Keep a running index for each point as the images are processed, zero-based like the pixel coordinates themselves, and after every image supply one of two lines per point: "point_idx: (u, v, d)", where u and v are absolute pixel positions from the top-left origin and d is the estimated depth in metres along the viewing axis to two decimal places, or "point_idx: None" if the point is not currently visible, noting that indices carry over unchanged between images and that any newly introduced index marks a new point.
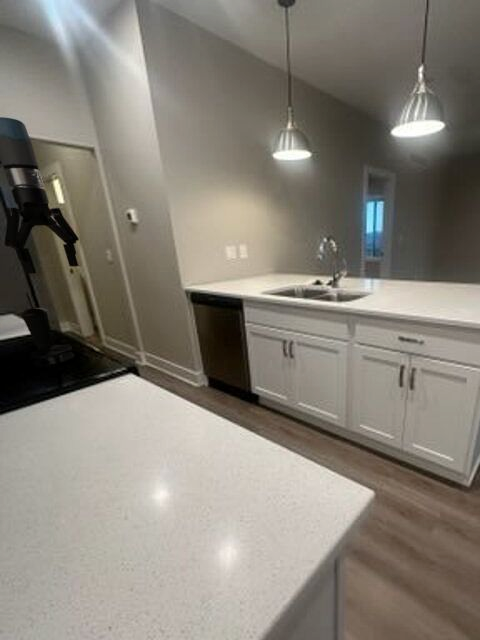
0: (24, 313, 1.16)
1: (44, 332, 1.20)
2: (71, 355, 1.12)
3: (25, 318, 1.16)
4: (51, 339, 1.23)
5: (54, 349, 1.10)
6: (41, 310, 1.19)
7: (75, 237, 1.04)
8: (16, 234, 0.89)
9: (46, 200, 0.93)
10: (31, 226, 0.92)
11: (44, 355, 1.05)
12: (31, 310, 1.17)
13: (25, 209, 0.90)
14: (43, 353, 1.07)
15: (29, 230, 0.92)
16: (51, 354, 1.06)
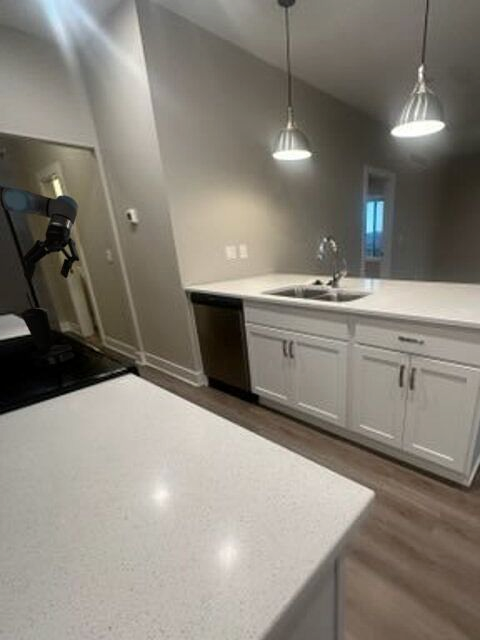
0: (24, 313, 1.16)
1: (44, 332, 1.20)
2: (71, 355, 1.12)
3: (25, 318, 1.16)
4: (51, 339, 1.23)
5: (54, 349, 1.10)
6: (41, 310, 1.19)
7: None
8: None
9: None
10: None
11: (44, 355, 1.05)
12: (31, 310, 1.17)
13: None
14: (43, 353, 1.07)
15: None
16: (51, 354, 1.06)
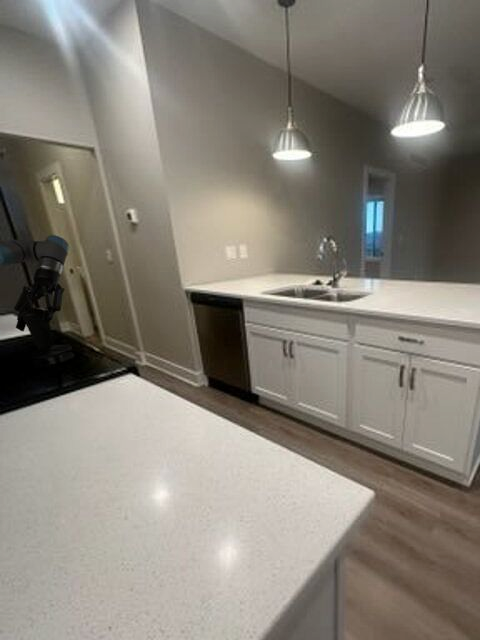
0: (24, 313, 1.16)
1: (44, 332, 1.20)
2: (71, 355, 1.12)
3: (25, 318, 1.16)
4: (51, 339, 1.23)
5: (54, 349, 1.10)
6: (41, 310, 1.19)
7: None
8: None
9: None
10: None
11: (44, 355, 1.05)
12: (31, 310, 1.17)
13: None
14: (43, 353, 1.07)
15: None
16: (51, 354, 1.06)
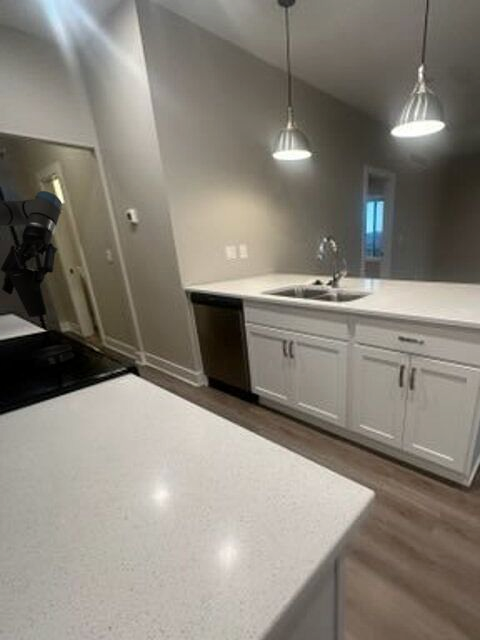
0: (11, 273, 1.04)
1: (35, 295, 1.08)
2: (71, 355, 1.12)
3: (13, 278, 1.04)
4: (42, 304, 1.11)
5: (54, 349, 1.10)
6: (31, 270, 1.06)
7: None
8: None
9: None
10: None
11: (44, 355, 1.05)
12: (19, 270, 1.05)
13: None
14: (43, 353, 1.07)
15: None
16: (51, 354, 1.06)
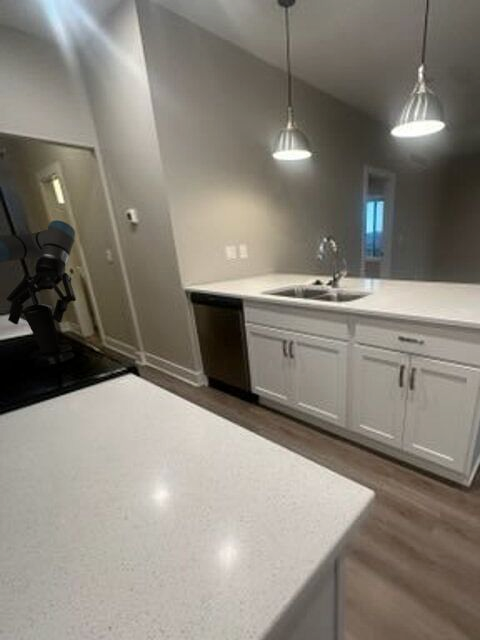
0: (26, 310, 1.01)
1: (49, 331, 1.05)
2: (71, 355, 1.12)
3: (27, 316, 1.02)
4: (56, 340, 1.08)
5: None
6: (45, 307, 1.04)
7: None
8: None
9: None
10: None
11: (44, 355, 1.05)
12: (34, 307, 1.02)
13: None
14: (43, 353, 1.07)
15: None
16: (51, 354, 1.06)
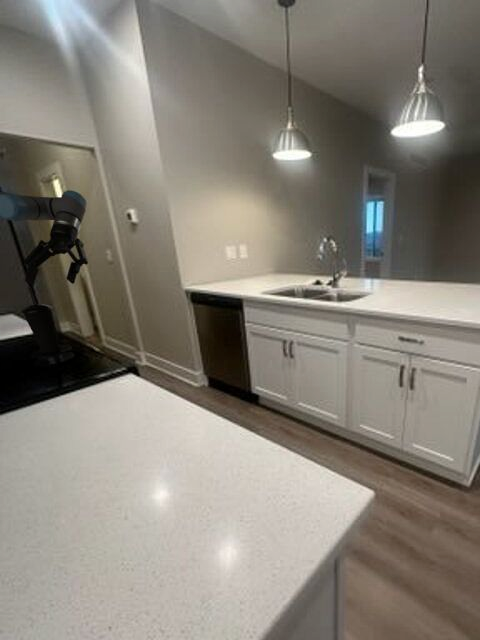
0: (26, 310, 1.01)
1: (49, 331, 1.05)
2: (71, 355, 1.12)
3: (27, 316, 1.02)
4: (56, 340, 1.08)
5: None
6: (45, 307, 1.04)
7: None
8: None
9: None
10: None
11: (44, 355, 1.05)
12: (34, 307, 1.02)
13: None
14: (43, 353, 1.07)
15: None
16: (51, 354, 1.06)
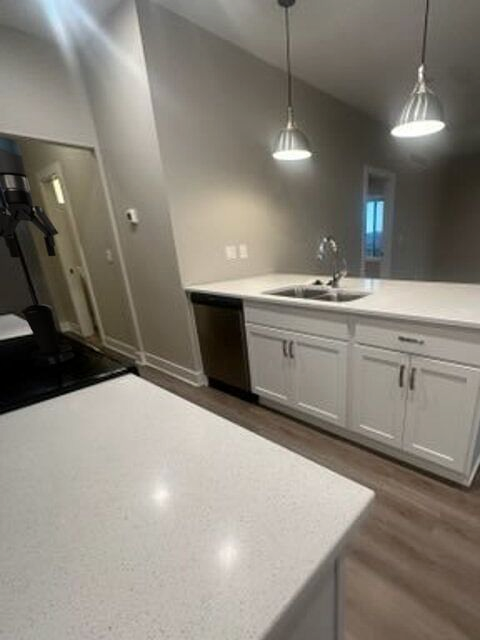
0: (26, 310, 1.01)
1: (49, 331, 1.05)
2: (71, 355, 1.12)
3: (27, 316, 1.02)
4: (56, 340, 1.08)
5: None
6: (45, 307, 1.04)
7: None
8: None
9: None
10: None
11: (44, 355, 1.05)
12: (34, 307, 1.02)
13: None
14: (43, 353, 1.07)
15: None
16: (51, 354, 1.06)
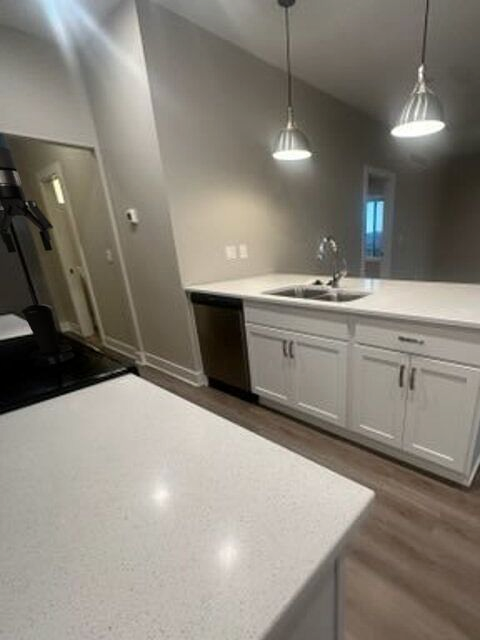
0: (26, 310, 1.01)
1: (49, 331, 1.05)
2: (71, 355, 1.12)
3: (27, 316, 1.02)
4: (56, 340, 1.08)
5: None
6: (45, 307, 1.04)
7: None
8: None
9: None
10: None
11: (44, 355, 1.05)
12: (34, 307, 1.02)
13: None
14: (43, 353, 1.07)
15: None
16: (51, 354, 1.06)
